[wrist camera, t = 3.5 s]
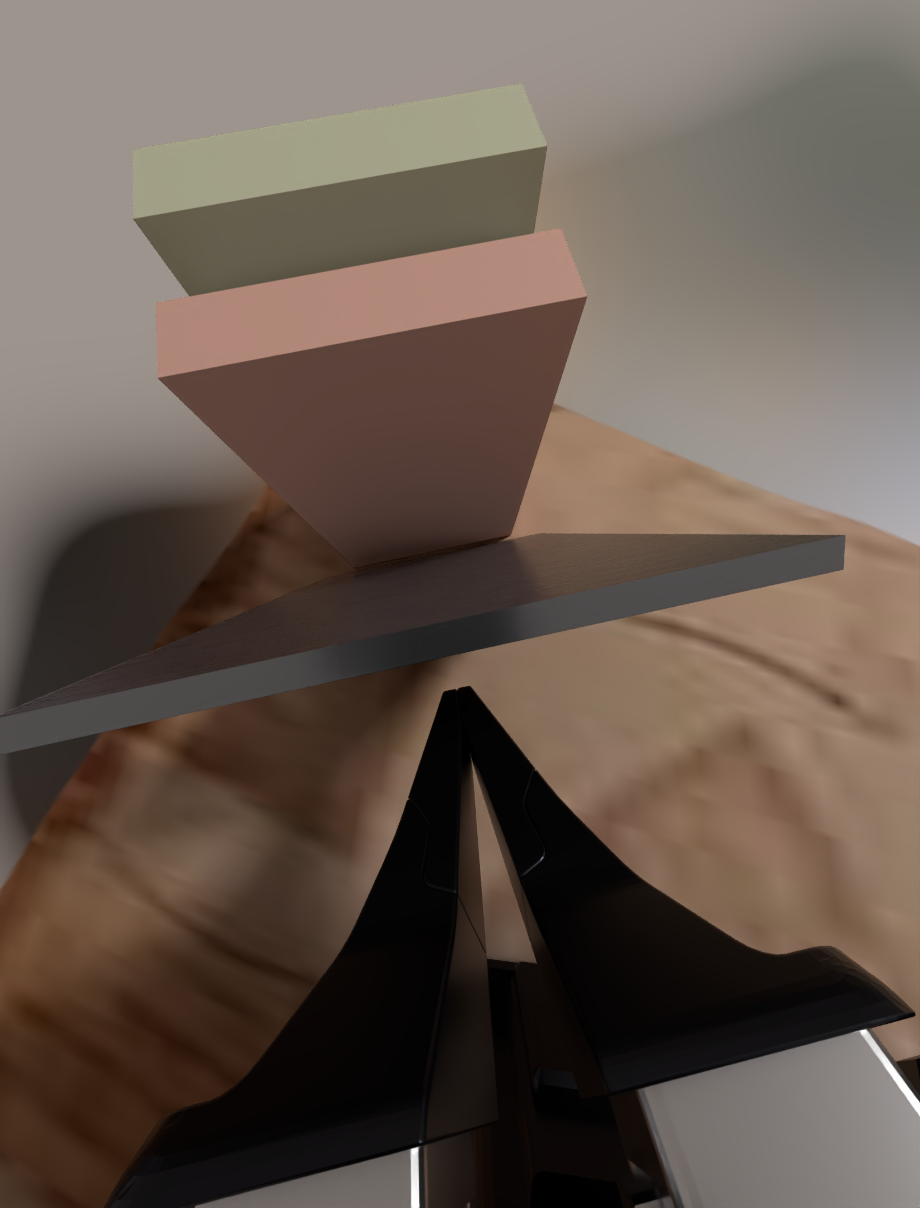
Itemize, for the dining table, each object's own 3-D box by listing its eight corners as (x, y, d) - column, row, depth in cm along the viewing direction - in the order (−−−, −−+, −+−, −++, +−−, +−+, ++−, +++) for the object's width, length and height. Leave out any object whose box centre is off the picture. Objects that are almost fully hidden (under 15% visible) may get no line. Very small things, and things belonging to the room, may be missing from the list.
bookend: (541, 542, 18) (843, 569, 5) (328, 587, 18) (0, 754, 4) (539, 533, 18) (845, 534, 5) (326, 578, 18) (-18, 722, 4)
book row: (511, 535, 19) (596, 267, 6) (354, 567, 18) (133, 354, 6) (487, 447, 20) (522, 83, 8) (340, 477, 20) (132, 149, 7)
